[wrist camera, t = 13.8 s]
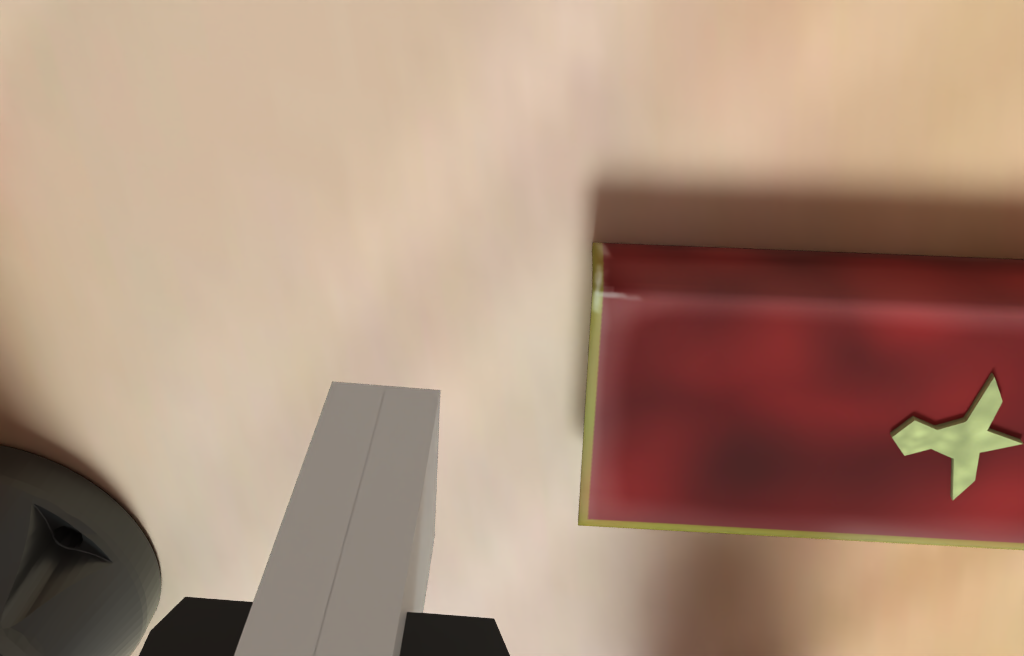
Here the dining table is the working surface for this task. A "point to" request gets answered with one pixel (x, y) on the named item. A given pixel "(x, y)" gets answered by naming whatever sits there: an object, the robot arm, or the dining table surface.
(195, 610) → the robot arm
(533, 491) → the dining table surface
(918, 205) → the dining table surface
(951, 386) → the hardcover book
